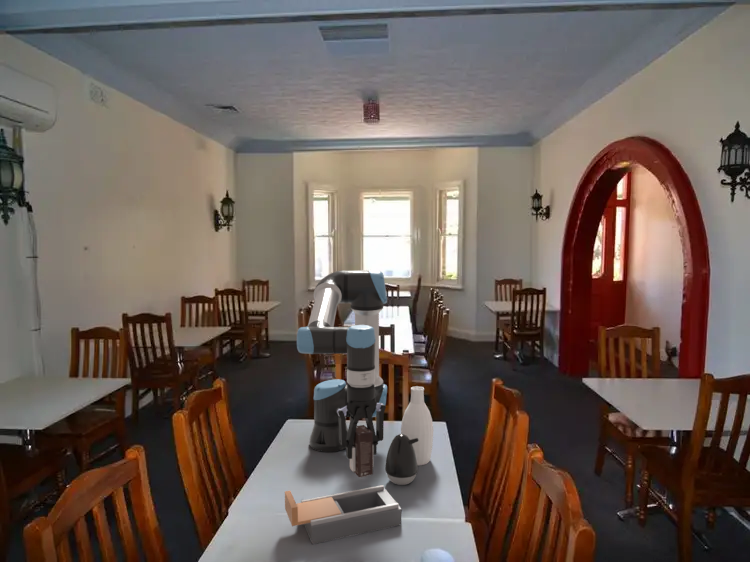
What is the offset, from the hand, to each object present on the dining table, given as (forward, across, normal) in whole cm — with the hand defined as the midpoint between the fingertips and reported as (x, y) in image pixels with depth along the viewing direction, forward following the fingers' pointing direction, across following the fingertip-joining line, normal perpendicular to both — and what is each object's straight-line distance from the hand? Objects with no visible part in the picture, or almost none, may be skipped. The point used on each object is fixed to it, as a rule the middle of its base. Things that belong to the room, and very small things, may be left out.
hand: (361, 467), depth 143 cm
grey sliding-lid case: (+15, -3, 0) cm, 15 cm away
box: (+1, 0, 0) cm, 1 cm away
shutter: (+10, -14, 0) cm, 17 cm away
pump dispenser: (+15, +19, +16) cm, 29 cm away
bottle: (+15, +30, +28) cm, 44 cm away
